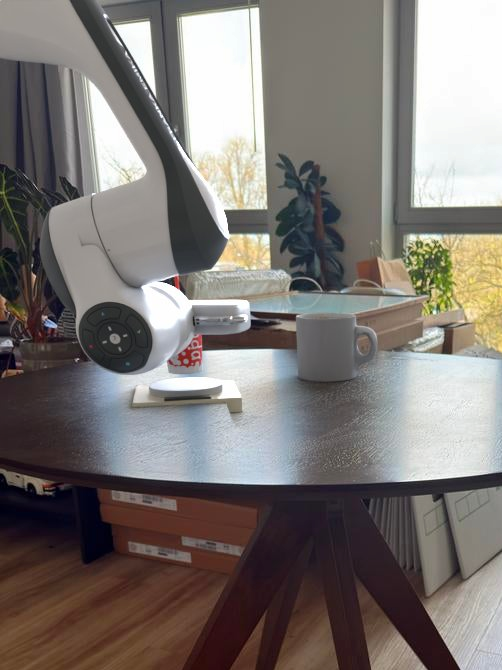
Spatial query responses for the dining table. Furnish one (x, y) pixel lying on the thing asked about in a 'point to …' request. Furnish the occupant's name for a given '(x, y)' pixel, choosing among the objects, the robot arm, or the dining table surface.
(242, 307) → the robot arm
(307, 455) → the dining table surface
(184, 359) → the beverage cup
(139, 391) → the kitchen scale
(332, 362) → the coffee mug
